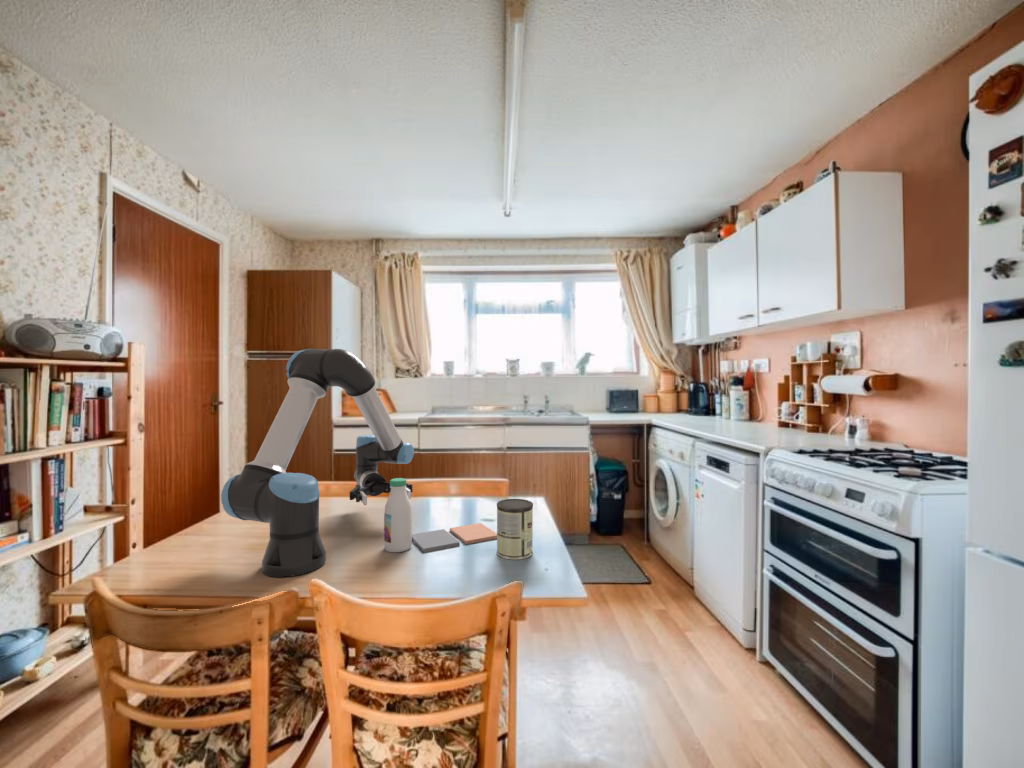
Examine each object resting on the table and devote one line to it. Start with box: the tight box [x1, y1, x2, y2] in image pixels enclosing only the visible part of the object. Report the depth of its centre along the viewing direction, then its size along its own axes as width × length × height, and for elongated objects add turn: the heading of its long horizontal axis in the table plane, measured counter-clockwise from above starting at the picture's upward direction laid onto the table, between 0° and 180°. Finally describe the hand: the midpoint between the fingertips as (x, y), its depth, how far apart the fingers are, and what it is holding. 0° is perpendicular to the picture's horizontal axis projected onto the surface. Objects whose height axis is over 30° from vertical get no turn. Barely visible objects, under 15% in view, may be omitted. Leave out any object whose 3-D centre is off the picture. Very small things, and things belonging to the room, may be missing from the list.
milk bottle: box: [383, 477, 413, 553], centre depth 133 cm, size 8×8×20 cm
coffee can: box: [496, 498, 534, 561], centre depth 130 cm, size 10×10×14 cm
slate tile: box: [412, 528, 461, 553], centre depth 138 cm, size 11×13×1 cm
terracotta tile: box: [449, 522, 497, 545], centre depth 144 cm, size 11×13×1 cm
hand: (388, 497), depth 143 cm, fingers open, 13 cm apart
